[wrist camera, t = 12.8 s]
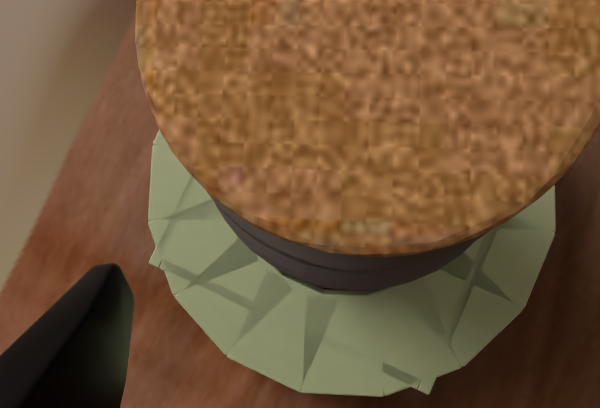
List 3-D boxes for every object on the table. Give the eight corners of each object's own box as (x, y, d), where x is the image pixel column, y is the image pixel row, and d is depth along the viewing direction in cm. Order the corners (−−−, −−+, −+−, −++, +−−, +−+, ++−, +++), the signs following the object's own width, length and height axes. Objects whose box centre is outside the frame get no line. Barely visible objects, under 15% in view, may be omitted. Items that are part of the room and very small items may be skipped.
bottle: (392, 301, 19) (578, 426, 4) (245, 243, 20) (-21, 183, 5) (447, 153, 20) (780, -176, 5) (301, 101, 20) (209, -335, 6)
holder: (583, 104, 20) (619, 81, 17) (442, 441, 19) (457, 469, 16) (259, -25, 21) (249, -62, 19) (114, 284, 20) (83, 288, 18)
